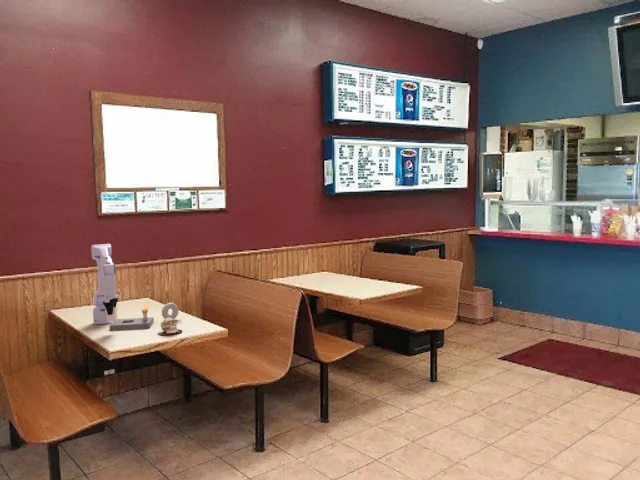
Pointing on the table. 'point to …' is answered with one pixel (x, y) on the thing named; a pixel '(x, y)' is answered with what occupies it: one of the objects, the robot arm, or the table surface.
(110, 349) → the table surface
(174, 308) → the donut
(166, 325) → the skull
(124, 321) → the socket block
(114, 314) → the plug
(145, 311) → the orange paddle handle
